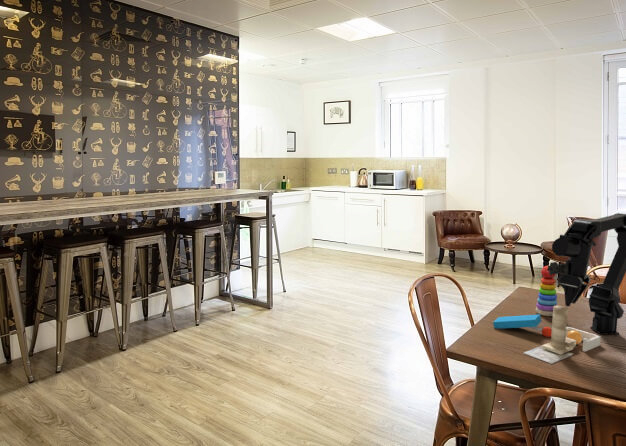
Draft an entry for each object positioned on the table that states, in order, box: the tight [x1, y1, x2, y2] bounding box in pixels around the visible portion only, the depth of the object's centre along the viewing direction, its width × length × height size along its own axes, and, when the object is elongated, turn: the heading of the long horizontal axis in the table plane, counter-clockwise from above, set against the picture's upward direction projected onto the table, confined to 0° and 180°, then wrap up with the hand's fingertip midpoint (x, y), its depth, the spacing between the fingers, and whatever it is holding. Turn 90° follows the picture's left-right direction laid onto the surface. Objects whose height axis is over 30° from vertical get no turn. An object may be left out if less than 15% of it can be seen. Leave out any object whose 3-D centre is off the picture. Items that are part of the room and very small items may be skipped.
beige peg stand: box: [541, 305, 577, 354], centre depth 151 cm, size 10×6×13 cm, turn 123°
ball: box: [567, 330, 583, 345], centre depth 156 cm, size 4×4×4 cm
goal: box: [566, 326, 602, 352], centre depth 157 cm, size 9×11×4 cm
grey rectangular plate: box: [523, 345, 574, 365], centre depth 149 cm, size 12×9×1 cm
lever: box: [492, 314, 552, 338], centre depth 168 cm, size 7×7×18 cm
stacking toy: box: [535, 265, 558, 317], centre depth 185 cm, size 8×8×19 cm
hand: (570, 304), depth 158 cm, fingers open, 9 cm apart
